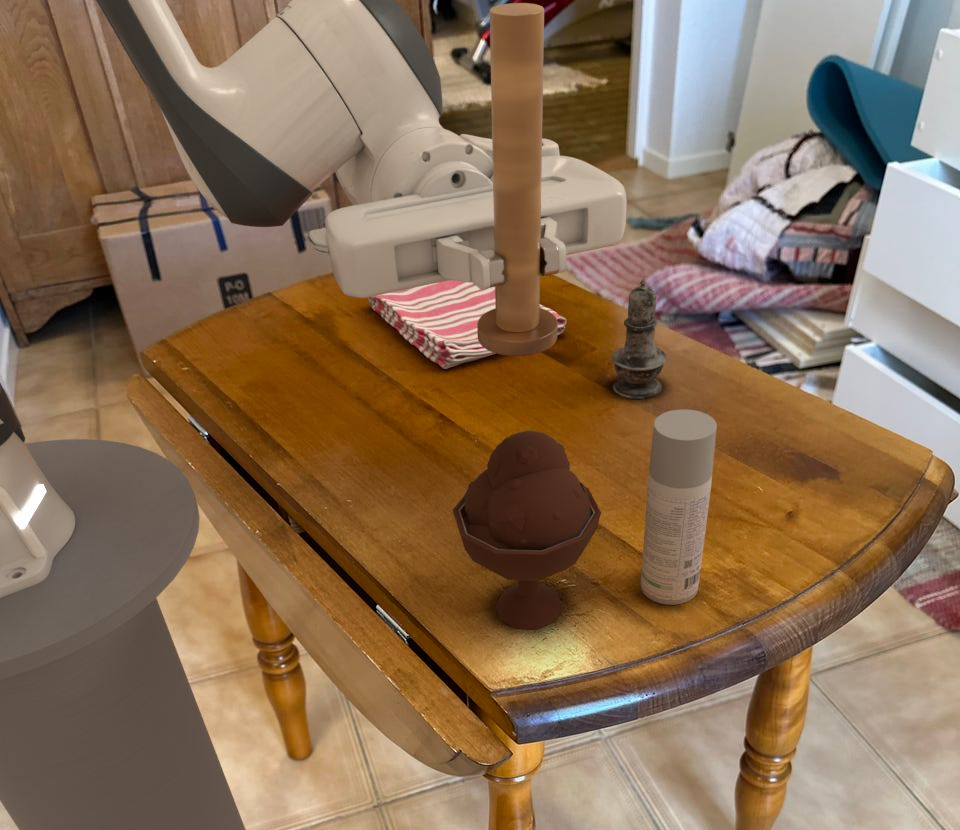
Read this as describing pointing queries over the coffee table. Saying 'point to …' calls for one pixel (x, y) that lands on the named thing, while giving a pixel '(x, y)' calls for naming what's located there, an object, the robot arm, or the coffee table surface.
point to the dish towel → (442, 319)
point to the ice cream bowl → (527, 524)
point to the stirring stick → (517, 182)
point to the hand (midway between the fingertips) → (525, 268)
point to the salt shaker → (639, 348)
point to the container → (677, 505)
